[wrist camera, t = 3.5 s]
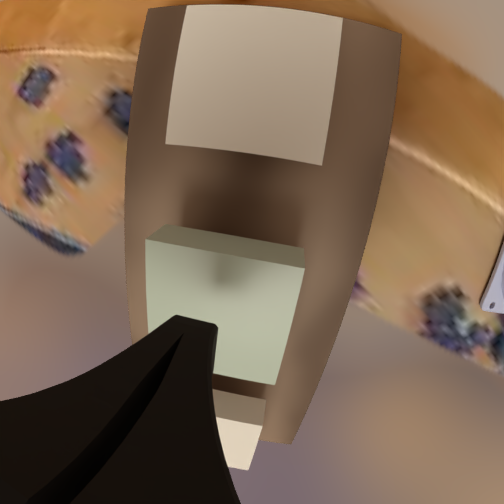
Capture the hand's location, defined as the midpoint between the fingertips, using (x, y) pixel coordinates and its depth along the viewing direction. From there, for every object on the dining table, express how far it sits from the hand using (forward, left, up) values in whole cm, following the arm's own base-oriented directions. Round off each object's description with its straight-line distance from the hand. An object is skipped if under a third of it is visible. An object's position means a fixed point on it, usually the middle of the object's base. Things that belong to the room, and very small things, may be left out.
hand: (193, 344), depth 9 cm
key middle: (0, +1, -5) cm, 5 cm away
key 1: (0, -8, -6) cm, 10 cm away
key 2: (0, +11, -5) cm, 12 cm away
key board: (0, +1, -8) cm, 8 cm away
